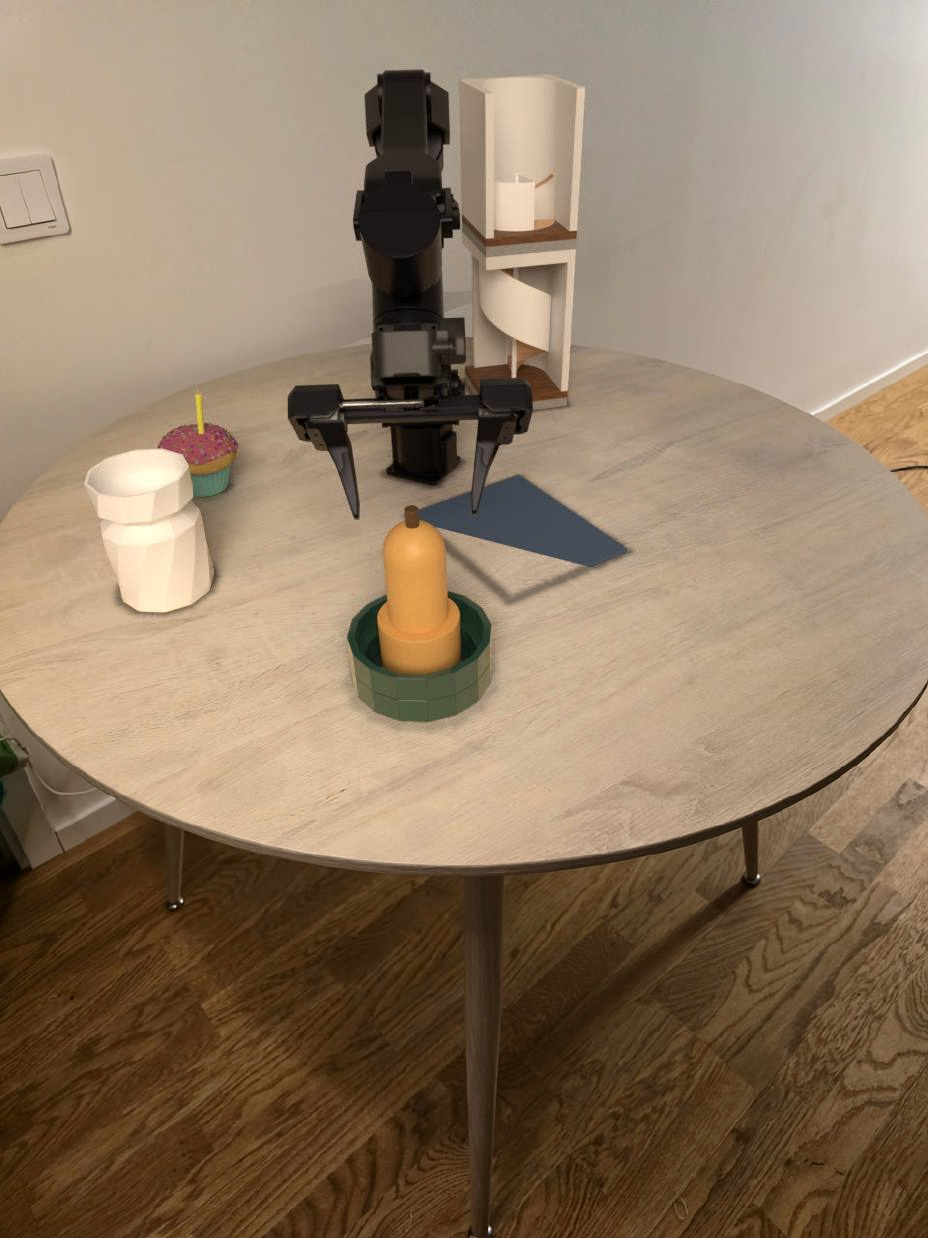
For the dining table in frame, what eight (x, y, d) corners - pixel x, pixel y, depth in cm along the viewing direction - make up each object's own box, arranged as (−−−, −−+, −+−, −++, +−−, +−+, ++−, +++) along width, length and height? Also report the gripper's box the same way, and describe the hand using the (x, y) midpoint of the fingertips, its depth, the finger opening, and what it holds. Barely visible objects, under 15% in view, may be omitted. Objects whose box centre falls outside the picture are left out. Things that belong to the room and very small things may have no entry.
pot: (327, 699, 69) (319, 652, 66) (398, 620, 77) (394, 575, 74) (451, 744, 65) (449, 696, 62) (513, 656, 73) (514, 609, 70)
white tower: (465, 380, 117) (458, 79, 96) (539, 371, 119) (550, 74, 97) (486, 415, 109) (485, 93, 87) (566, 405, 111) (585, 87, 89)
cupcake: (258, 474, 98) (239, 373, 90) (218, 512, 92) (194, 406, 84) (193, 464, 100) (169, 364, 93) (150, 500, 94) (120, 396, 87)
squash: (368, 685, 69) (348, 520, 60) (407, 639, 74) (395, 478, 64) (438, 709, 67) (429, 541, 57) (474, 660, 72) (472, 497, 62)
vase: (130, 624, 77) (92, 508, 70) (113, 574, 83) (76, 462, 76) (226, 595, 80) (199, 481, 73) (203, 549, 86) (176, 440, 79)
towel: (410, 515, 90) (410, 512, 90) (518, 477, 96) (518, 474, 96) (510, 601, 79) (510, 598, 78) (627, 552, 84) (627, 548, 84)
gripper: (270, 278, 61) (274, 493, 59) (534, 269, 61) (545, 483, 59) (298, 346, 72) (302, 529, 70) (522, 338, 72) (531, 521, 71)
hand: (415, 516), depth 67 cm, fingers open, 9 cm apart
